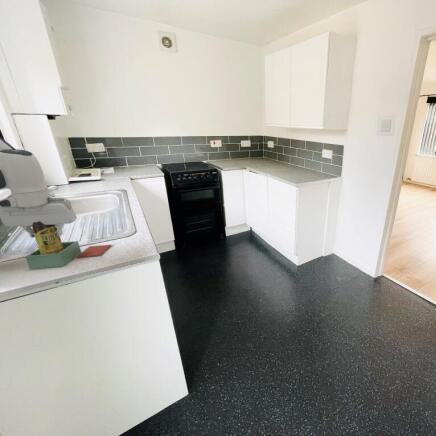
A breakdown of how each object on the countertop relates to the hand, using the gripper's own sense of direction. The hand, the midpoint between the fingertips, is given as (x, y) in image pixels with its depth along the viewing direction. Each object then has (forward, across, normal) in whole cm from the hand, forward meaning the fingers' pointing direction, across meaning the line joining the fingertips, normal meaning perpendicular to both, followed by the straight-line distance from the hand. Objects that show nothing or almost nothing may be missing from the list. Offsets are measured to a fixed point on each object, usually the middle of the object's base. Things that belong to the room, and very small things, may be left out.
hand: (47, 235), depth 88 cm
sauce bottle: (+9, 0, 0) cm, 9 cm away
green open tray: (+10, 0, 0) cm, 10 cm away
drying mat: (+10, -10, -5) cm, 15 cm away
